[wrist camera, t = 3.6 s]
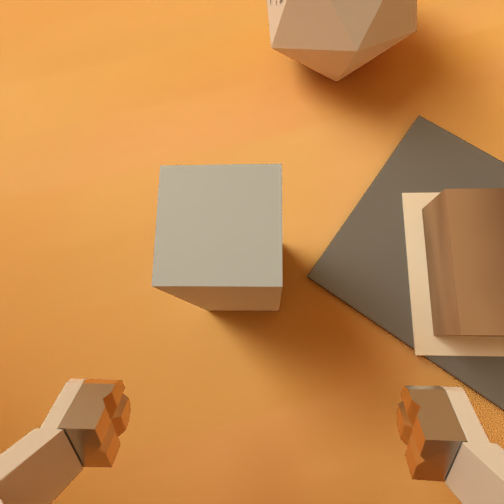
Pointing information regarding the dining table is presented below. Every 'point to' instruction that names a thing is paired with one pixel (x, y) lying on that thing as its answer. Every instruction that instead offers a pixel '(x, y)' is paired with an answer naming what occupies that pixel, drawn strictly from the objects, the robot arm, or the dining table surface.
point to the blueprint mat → (412, 253)
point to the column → (220, 236)
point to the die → (338, 31)
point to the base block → (466, 261)
